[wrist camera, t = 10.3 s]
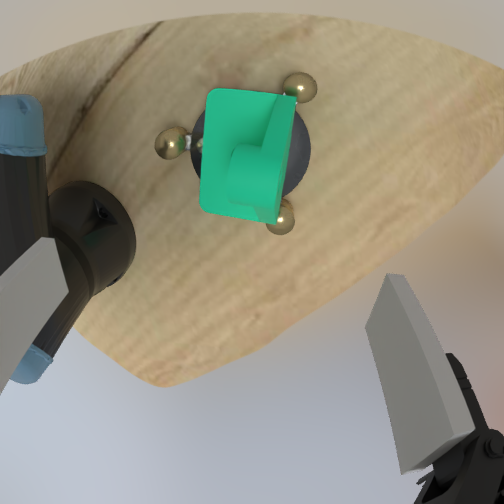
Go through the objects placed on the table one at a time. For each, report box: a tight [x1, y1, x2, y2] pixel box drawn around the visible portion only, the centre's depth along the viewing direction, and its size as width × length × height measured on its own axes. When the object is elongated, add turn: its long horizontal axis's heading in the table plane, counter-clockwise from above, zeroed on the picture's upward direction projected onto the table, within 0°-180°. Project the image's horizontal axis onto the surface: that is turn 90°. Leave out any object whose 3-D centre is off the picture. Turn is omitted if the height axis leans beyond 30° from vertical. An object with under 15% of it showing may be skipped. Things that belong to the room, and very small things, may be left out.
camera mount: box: [199, 88, 297, 225], centre depth 24 cm, size 12×8×10 cm, turn 173°
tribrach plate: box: [155, 72, 317, 235], centre depth 29 cm, size 16×17×3 cm
